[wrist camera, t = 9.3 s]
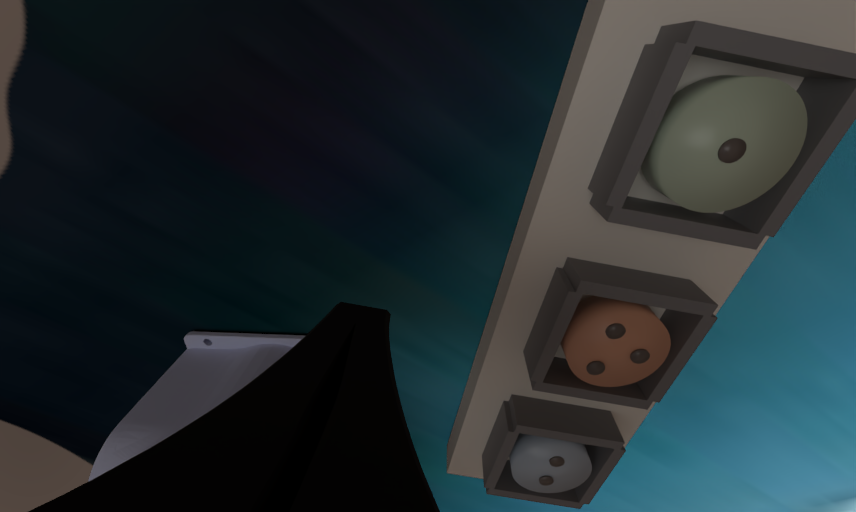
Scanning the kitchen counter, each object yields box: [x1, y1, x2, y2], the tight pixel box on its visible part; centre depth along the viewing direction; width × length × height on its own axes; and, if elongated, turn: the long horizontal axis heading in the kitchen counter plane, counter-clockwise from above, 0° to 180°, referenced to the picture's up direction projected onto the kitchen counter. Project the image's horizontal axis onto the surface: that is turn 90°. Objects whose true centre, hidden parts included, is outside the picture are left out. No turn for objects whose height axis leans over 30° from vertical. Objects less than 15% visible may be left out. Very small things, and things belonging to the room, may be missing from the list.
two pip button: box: [509, 433, 592, 493], centre depth 21 cm, size 4×4×2 cm
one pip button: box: [641, 75, 807, 213], centre depth 13 cm, size 4×4×2 cm
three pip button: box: [560, 296, 671, 387], centre depth 17 cm, size 4×4×2 cm
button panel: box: [447, 0, 856, 509], centre depth 18 cm, size 28×10×4 cm, turn 170°
